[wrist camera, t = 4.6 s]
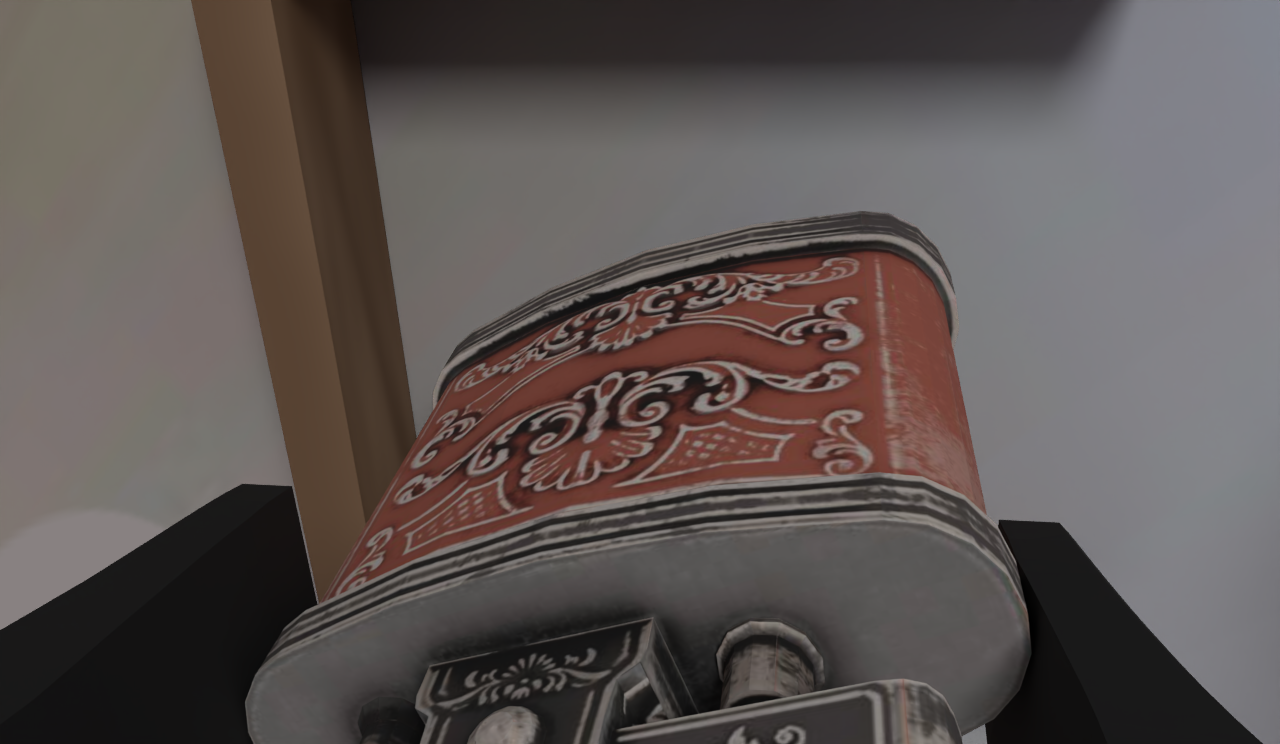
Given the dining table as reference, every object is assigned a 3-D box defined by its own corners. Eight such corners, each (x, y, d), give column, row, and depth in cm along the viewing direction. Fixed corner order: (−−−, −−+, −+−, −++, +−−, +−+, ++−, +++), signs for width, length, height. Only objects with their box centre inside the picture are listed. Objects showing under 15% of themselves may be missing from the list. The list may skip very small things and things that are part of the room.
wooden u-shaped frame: (1184, -183, 17) (1253, -170, 14) (1056, 595, 23) (1086, 703, 21) (255, -153, 18) (162, -135, 16) (380, 559, 25) (329, 654, 22)
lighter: (499, 496, 20) (239, 1097, 11) (411, 324, 18) (33, 855, 10) (979, 372, 17) (1131, 1010, 9) (918, 164, 16) (1025, 673, 7)
